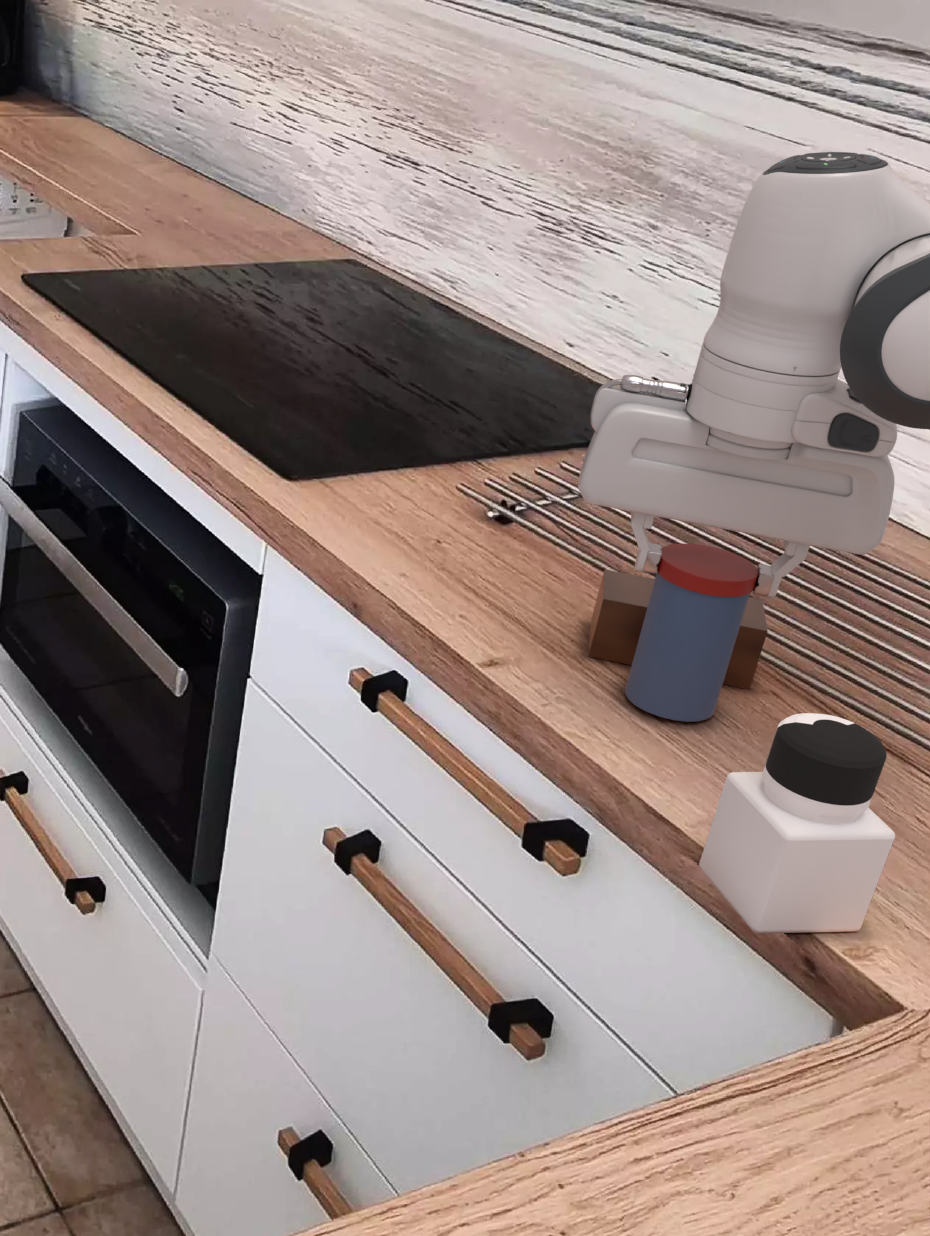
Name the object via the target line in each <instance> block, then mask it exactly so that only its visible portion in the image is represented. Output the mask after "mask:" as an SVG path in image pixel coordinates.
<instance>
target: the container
mask: <svg viewBox="0 0 930 1236" xmlns="http://www.w3.org/2000/svg"><path fill="white" fill-rule="evenodd" d="M661 551H662V555H661V559H660V562H659V563H658V570H657V573H656V574H655V578H654V579H655V581H654V585H653V589H652V592H651V596H650V600H649V603H648V607H647V611H646V615H645V618H644V622H643V626H642V629H641V633H640V637H639V640H638V644H637V648H636V651H635V655H634V659H633V663H632V665H630V670H629V674H628V676H627V677H628V678H627V681H626V685H625V688H624V694H625V697H626V698H627V699H628V701H630V702H631V703H632V704H633V705H634V706H635V707H637V708H639V709H641V710H642V711H644V712H646V713H648V714H651V715H654V716H656V717H659V718H662V719H663V718H664V719H667V720H671V721H677V722H687V723H688V722H689V723H690V722H691V723H692V722H702V721H705V720H708V719H710V718H711V717H712V716H713V715H714V714H715V711H716V708H717V704H718V701H719V698H720V694H721V692H722V691H721V690H722V689H723V688H722V687H723V685H724V684H723V681H724V678H725V675H726V671H727V668H728V665H729V661H730V658H731V655H732V651H733V648H734V645H735V641H736V638H737V634H738V631H739V628H740V624H741V621H742V618H743V614H744V611H745V608H746V604H747V601H748V598H749V597H750V595H751V594H752V593H753V590H754V588H755V584H756V581H757V578H758V573H759V572H758V569H757V568H758V567H757V566H756V565H755V564H754V563H753V562H751V560H748V559H746V558H745V557H743V556H741V555H738V554H737V553H734V552H731V551H729V550H725V549H722V548H718V547H714V546H710V545H705V544H699V543H685V542H684V543H672V544H668V545H664V546H662V549H661Z"/></svg>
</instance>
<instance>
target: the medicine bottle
mask: <svg viewBox="0 0 930 1236" xmlns="http://www.w3.org/2000/svg"><path fill="white" fill-rule="evenodd" d="M887 754H888V753H887V751H886V749H885V747H884V744H883V743H882V741H881V740H880V739H879V738H878V737H877V736H876V735H875V734H873V733H872V732H871V731H870V730H868V729H866V728H864V727H863V726H861V725H859V724H857V723H855V722H854V721H851V720H849V719H846V718H843V717H840V716H836V715H831V714H826V713H813V712H802V713H801V712H800V713H795V714H792V715H789V716H787V717H786V718H784V719H782V720H781V721H780V722H779V723H778V725H777V727H776V730H775V733H774V737H773V740H772V743H771V746H770V749H769V752H768V755H767V758H766V760H765V764H764V767H763V769H762V771H732V772H729V773H728V774H727V776H726V778H725V781H724V784H723V787H722V791H721V793H720V797H719V799H718V800H719V801H718V803H717V805H716V810H715V813H714V816H713V818H712V822H711V825H710V828H709V830H708V835H707V838H706V841H705V844H704V847H703V851H702V852H701V857H700V860H699V863H698V866H699V869H700V870H701V871H702V873H703V874H704V876H706V877H707V878H708V880H709V881H710V882H711V884H713V886H714V887H715V888H716V889H717V890H718V892H719V893H720V894H721V895H722V897H724V899H725V900H726V901H727V903H728V904H729V905H730V906H731V907H732V908H733V910H734V911H735V912H736V913H737V914H738V915H739V917H740V918H741V919H742V920H743V921H744V923H745V924H746V925H747V926H748V927H749V929H750V930H751V931H752V932H753V933H754V934H757V935H759V934H795V933H798V934H799V933H800V934H801V933H838V932H842V933H843V932H858V931H860V929H861V928H862V926H863V924H864V921H865V919H866V916H867V913H868V911H869V908H870V905H871V903H872V900H873V896H874V894H875V892H876V889H877V887H878V884H879V881H880V879H881V876H882V874H883V871H884V868H885V865H886V863H887V860H888V857H889V855H890V852H891V850H892V847H893V844H894V842H895V839H896V833H895V832H894V831H893V829H892V828H890V826H888V825H887V824H886V823H885V822H884V820H883V819H881V818H880V817H879V816H878V815H877V814H876V813H875V812H874V811H873V810H872V809H871V808H870V804H871V802H872V799H873V796H874V793H875V790H876V787H877V785H878V782H879V780H880V778H881V775H882V772H883V768H884V766H885V764H886V761H887V758H888V756H887Z"/></svg>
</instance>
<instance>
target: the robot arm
mask: <svg viewBox="0 0 930 1236" xmlns="http://www.w3.org/2000/svg"><path fill="white" fill-rule="evenodd" d="M731 237H732V238H731V241H730V243H729V247H728V251H727V254H726V257H725V260H724V264H723V267H722V271H721V275H720V279H719V287H720V288H719V290H720V292H719V293H720V294H719V295H720V296H719V298H720V299H719V306H718V309H717V312H716V315H715V317H714V319H713V320H712V323H711V324H710V326H709V328H708V329H707V330H706V332H705V335H704V337H703V341H702V344H701V348H700V351H699V355H698V359H697V362H696V366H695V369H694V372H693V377H692V380H691V383H690V384H689V383H684V382H676V381H670V380H661V379H660V380H657V379H649V378H644V377H643V376H640V375H635V374H624V375H623V376H622V378H615V379H612V380H609V381H606V382H605V383H603V384H602V385H601V386H600V387H599V388H598V389H597V390H596V392H595V394H594V398H593V402H592V405H591V409H590V414H589V422H590V424H591V425H590V426H591V427H592V430H593V431H594V432H593V435H592V437H591V439H590V442H589V445H588V447H587V450H586V451H585V456H584V457H583V458H584V459H583V461H582V464H581V468H580V472H579V476H578V481H577V489H578V491H579V493H580V495H581V497H582V498H583V500H584V501H585V502H586V503H587V504H590V505H594V506H599V507H605V508H610V509H616V510H621V511H626V512H631V514H630V527H631V530H632V534H633V535H634V539H635V541H636V544H637V548H638V549H637V554H636V557H635V561H634V572H639V573H645V574H651V575H656V574H657V570H658V563H659V562H660V559H661V555H662V551H661V549H662V548H663V546H662V544H658V543H653V542H651V541H650V537H649V535H648V530H650V529H652V527H653V524H654V521H655V517H657V518H663V519H668V520H673V521H680V522H684V523H690V524H694V525H700V526H706V527H711V528H716V529H722V530H726V531H731V532H732V531H733V532H738V533H743V534H749V535H754V536H759V537H763V538H764V537H765V538H769V539H774V540H781V541H783V543H782V544H783V547H784V552H783V553H782V554H781V555H780V556H779V557H778V558H777V559H776V560H775V561H774V562H773V563H771V564H770V565H767V564H762V563H758V565H757V567H756V568H757V569H758V572H759V573H758V578H757V581H756V584H755V588H754V590H753V591H752V594H753V595H757V596H762V597H766V598H772V599H775V598H776V596H777V594H778V591H779V587H780V584H781V581H782V578H785V577H787V575H789V574H790V573H791V572H793V570H795V569H796V568H797V567H798V566H799V565H801V564H802V563H803V562H804V561H805V560H807V559H806V558H807V556H808V553H809V550H810V547H817V548H823V549H827V550H833V551H839V552H842V553H843V552H844V553H849V554H854V555H859V556H860V555H861V556H864V555H867V554H868V553H870V552H872V551H873V550H875V549H876V548H878V547H879V546H880V545H881V544H882V542H883V539H884V536H885V533H886V531H887V526H888V523H889V518H890V514H891V509H892V505H893V499H894V491H895V473H894V469H893V467H892V463H891V461H890V458H889V456H888V455H890V453H892V451H893V449H894V448H895V445H896V443H897V440H898V426H901V427H906V428H911V429H917V430H918V429H919V430H930V202H929V201H927V200H926V199H925V198H924V197H922V196H921V195H920V194H918V193H917V192H916V191H915V190H914V189H913V188H911V187H910V186H909V185H907V184H906V183H905V182H904V181H903V180H902V179H901V178H900V177H899V176H898V174H897V173H896V172H895V171H894V169H893V168H892V166H891V164H890V163H889V162H887V160H884V159H883V158H880V157H878V156H876V155H872V154H865V153H857V152H849V151H848V152H845V151H823V152H809V153H808V152H807V153H804V154H797V155H796V154H795V155H792V156H789V157H786V158H784V159H782V160H780V161H777V162H776V163H774V164H772V165H771V166H769V168H767V169H766V170H765V171H763V172H762V173H761V174H760V175H759V177H758V178H757V179H756V181H755V182H754V184H753V186H752V187H751V189H750V191H749V192H748V195H747V198H746V200H745V202H744V204H743V206H742V209H741V212H740V215H739V217H738V219H737V222H736V225H735V228H734V231H733V234H732V236H731ZM841 371H842V375H843V377H844V379H845V381H843V380H841V379H839V375H840V372H841ZM615 386H620V387H615ZM647 529H648V530H647Z"/></svg>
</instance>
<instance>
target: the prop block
mask: <svg viewBox="0 0 930 1236" xmlns="http://www.w3.org/2000/svg"><path fill="white" fill-rule="evenodd" d="M654 581H655V578H651V577H647V576H641V575H636V574H633V573H632V574H631V573H626V572H621V571H616V570H611V569H604V570H603V573H602V577H601V581H600V585H599V589H598V593H597V596H596V601H595V604H594V608H593V612H592V616H591V620H590V624H589V634H588V637H589V638H588V655H587V656H588V657H590V658H595V659H599V660H604V661H608V662H609V661H610V662H615V663H619V664H624V665H630V666H632V663H633V659H634V655H635V651H636V648H637V644H638V640H639V637H640V633H641V629H642V626H643V622H644V618H645V615H646V611H647V607H648V603H649V600H650V596H651V592H652V589H653V585H654ZM768 632H769V631H768V624H767V619H766V611H765V605H764V600H763V599H759V598H755V597H750V596H749V598H748V601H747V604H746V608H745V611H744V614H743V618H742V621H741V624H740V628H739V631H738V634H737V638H736V641H735V645H734V648H733V651H732V655H731V658H730V661H729V665H728V668H727V671H726V675H725V678H724V681H723V685H727V686H732V687H735V688H740V689H741V688H742V689H746V690H750V689H751V686H752V683H753V680H754V676H755V673H756V671H757V667H758V663H759V662H760V661H759V660H760V658H761V654H762V651H763V648H764V645H765V642H766V638H767V635H768Z"/></svg>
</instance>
